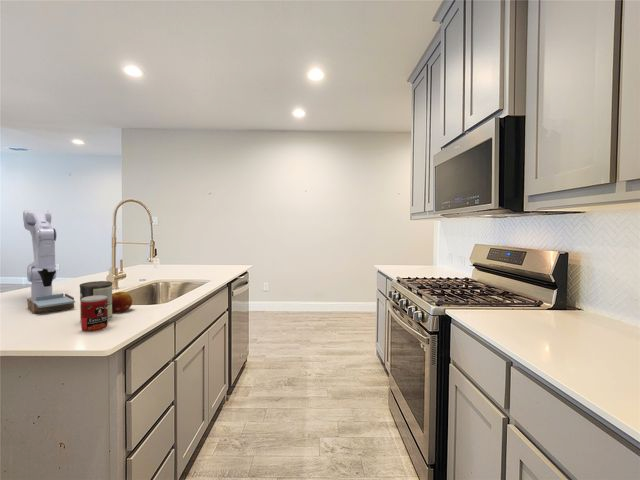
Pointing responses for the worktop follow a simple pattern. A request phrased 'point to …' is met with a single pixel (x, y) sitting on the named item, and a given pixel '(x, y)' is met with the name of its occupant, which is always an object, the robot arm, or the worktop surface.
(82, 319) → the canned food
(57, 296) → the lid
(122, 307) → the fruit
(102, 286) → the coffee can
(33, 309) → the box
